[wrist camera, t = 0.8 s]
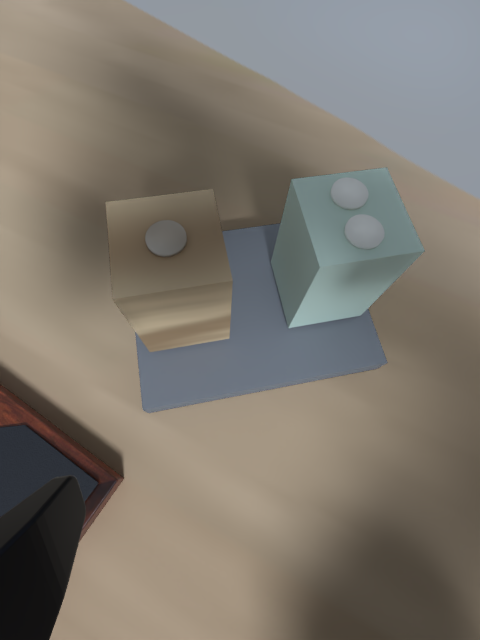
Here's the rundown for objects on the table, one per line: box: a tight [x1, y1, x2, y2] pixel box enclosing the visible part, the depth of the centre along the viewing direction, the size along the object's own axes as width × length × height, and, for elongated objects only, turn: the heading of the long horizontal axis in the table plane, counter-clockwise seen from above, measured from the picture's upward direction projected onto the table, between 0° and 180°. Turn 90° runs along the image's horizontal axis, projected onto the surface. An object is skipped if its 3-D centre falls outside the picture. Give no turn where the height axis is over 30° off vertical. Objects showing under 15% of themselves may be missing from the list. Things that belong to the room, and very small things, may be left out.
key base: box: [135, 223, 387, 413], centre depth 22 cm, size 10×14×2 cm
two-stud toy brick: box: [271, 167, 425, 328], centre depth 18 cm, size 4×4×7 cm
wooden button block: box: [105, 189, 233, 352], centre depth 17 cm, size 4×4×7 cm
